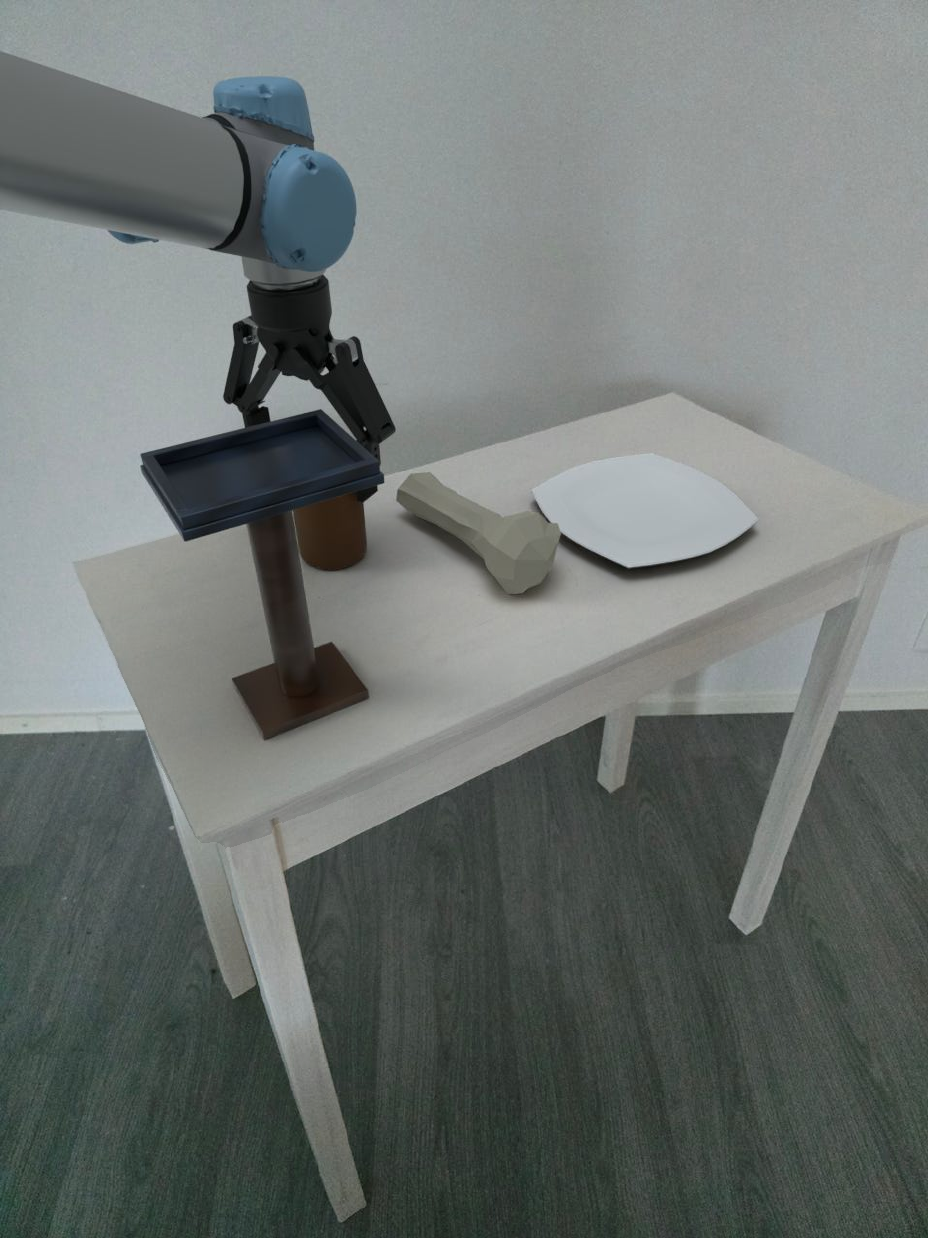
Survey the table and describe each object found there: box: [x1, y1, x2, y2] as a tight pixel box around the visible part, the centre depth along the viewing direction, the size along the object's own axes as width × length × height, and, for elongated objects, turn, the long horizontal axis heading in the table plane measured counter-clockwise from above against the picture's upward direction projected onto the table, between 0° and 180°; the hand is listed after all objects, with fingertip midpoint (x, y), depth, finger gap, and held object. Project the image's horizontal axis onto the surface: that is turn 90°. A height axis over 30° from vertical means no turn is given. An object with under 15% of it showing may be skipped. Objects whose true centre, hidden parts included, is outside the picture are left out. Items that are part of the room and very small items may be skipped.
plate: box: [530, 452, 760, 570], centre depth 98 cm, size 23×23×2 cm
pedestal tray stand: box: [140, 408, 385, 741], centre depth 69 cm, size 15×11×24 cm
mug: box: [292, 492, 368, 571], centre depth 92 cm, size 12×8×9 cm, turn 41°
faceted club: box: [396, 471, 562, 595], centre depth 92 cm, size 9×9×25 cm
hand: (316, 480), depth 90 cm, fingers open, 13 cm apart
